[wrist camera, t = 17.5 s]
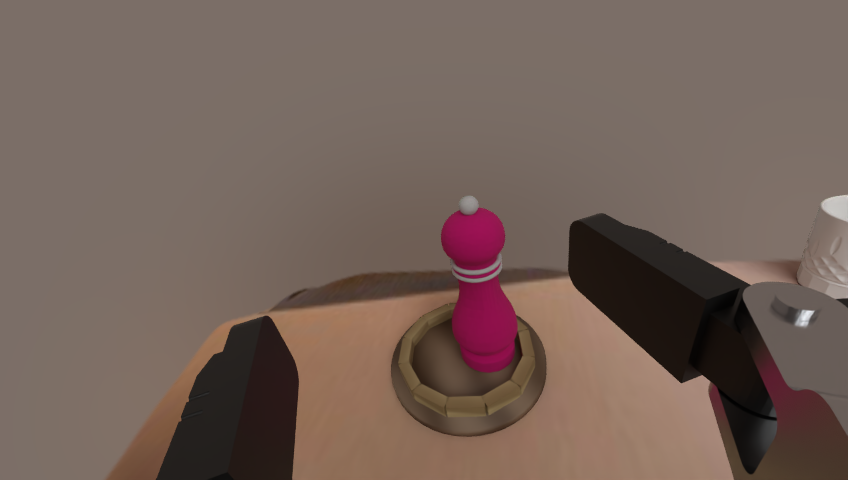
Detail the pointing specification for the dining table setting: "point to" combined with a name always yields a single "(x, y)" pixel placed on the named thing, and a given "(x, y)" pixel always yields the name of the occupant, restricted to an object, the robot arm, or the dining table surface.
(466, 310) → the pepper mill
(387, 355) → the dining table surface
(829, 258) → the white cup
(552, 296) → the dining table surface
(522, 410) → the tray
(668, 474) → the dining table surface
